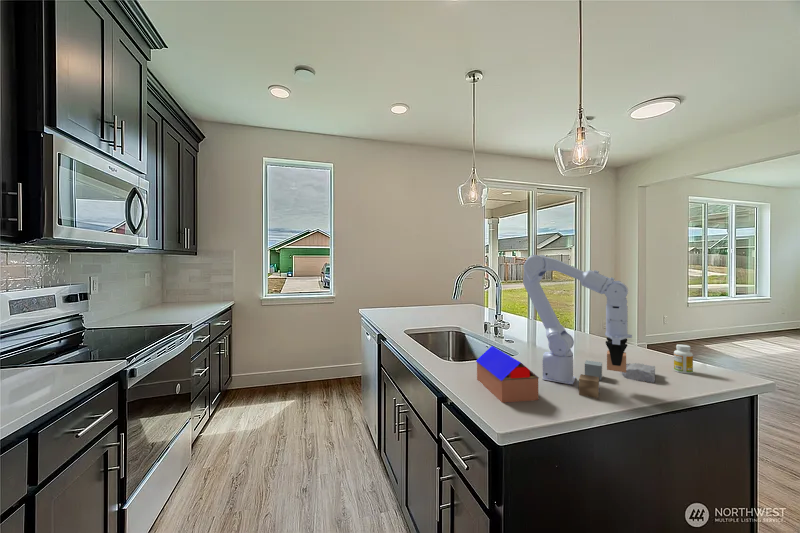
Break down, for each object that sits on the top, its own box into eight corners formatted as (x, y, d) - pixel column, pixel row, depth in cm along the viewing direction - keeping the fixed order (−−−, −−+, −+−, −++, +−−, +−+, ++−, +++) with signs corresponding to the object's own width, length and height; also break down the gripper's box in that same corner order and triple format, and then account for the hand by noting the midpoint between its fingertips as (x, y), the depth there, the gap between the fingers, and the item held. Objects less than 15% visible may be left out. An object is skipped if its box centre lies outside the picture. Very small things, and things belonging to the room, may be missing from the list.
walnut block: (578, 395, 102) (578, 378, 102) (580, 389, 106) (580, 374, 106) (598, 398, 99) (597, 381, 99) (599, 393, 103) (598, 377, 103)
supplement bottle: (691, 370, 123) (691, 344, 123) (694, 375, 118) (694, 348, 118) (672, 368, 126) (672, 343, 126) (675, 372, 121) (675, 346, 121)
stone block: (622, 383, 116) (658, 384, 110) (619, 369, 116) (654, 369, 111) (624, 375, 125) (657, 375, 120) (621, 362, 126) (654, 361, 120)
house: (508, 377, 118) (508, 344, 118) (540, 401, 98) (539, 361, 98) (475, 379, 116) (475, 346, 116) (501, 403, 96) (501, 363, 96)
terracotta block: (606, 369, 104) (606, 353, 104) (607, 365, 109) (607, 350, 108) (626, 372, 102) (626, 356, 102) (626, 368, 106) (626, 352, 106)
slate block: (584, 377, 117) (584, 363, 117) (586, 374, 121) (585, 360, 121) (601, 380, 114) (601, 366, 114) (602, 376, 118) (602, 362, 118)
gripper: (632, 324, 97) (632, 371, 97) (631, 317, 109) (631, 359, 109) (604, 322, 101) (604, 367, 101) (606, 315, 113) (606, 355, 113)
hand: (616, 362), depth 105 cm, fingers closed on terracotta block, 5 cm apart
